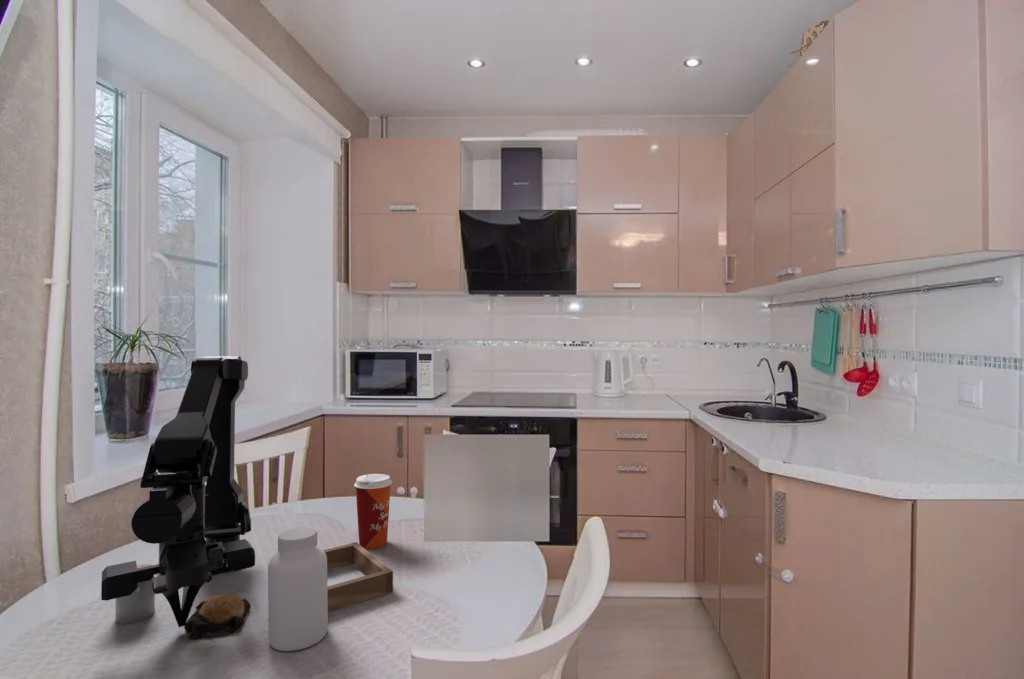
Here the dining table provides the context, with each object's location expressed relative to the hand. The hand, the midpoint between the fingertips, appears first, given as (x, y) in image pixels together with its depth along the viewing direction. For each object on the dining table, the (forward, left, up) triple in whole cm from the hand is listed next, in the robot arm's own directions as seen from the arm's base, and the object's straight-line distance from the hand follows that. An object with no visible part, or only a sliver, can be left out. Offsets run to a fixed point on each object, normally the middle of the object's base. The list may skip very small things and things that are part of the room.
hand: (181, 625), depth 78 cm
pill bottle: (+12, +13, -1) cm, 18 cm away
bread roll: (-1, +5, -2) cm, 5 cm away
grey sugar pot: (-10, -5, -1) cm, 11 cm away
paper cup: (-15, +36, -1) cm, 39 cm away
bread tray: (-1, +22, -1) cm, 22 cm away
